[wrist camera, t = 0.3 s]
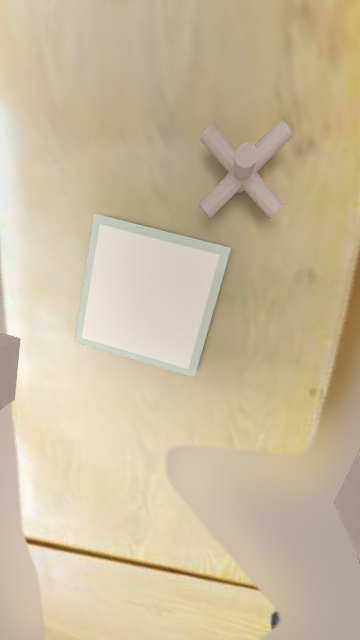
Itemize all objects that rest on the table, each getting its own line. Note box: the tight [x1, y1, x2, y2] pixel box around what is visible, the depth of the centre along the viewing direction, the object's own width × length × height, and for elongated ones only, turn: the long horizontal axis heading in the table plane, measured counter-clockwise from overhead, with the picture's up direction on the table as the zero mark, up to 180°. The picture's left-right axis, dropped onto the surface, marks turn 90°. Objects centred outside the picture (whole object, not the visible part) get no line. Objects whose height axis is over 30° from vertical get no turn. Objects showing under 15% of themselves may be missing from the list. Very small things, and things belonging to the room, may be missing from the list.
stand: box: [74, 213, 231, 378], centre depth 35 cm, size 16×16×3 cm
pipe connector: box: [199, 120, 292, 218], centre depth 27 cm, size 10×10×10 cm
